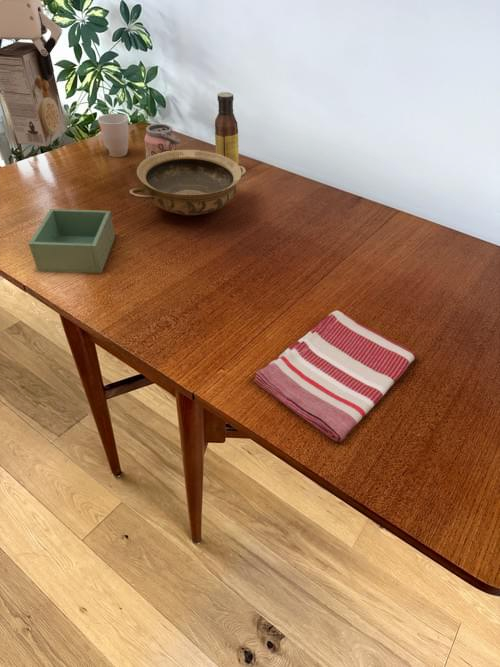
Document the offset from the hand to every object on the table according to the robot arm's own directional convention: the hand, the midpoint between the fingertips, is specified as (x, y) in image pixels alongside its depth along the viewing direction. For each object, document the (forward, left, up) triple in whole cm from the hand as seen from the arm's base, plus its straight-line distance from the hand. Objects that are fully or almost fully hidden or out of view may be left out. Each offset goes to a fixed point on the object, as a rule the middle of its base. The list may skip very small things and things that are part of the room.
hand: (27, 77), depth 87 cm
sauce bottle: (+37, +30, -30) cm, 56 cm away
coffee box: (0, 0, -11) cm, 11 cm away
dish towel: (+57, -46, -30) cm, 79 cm away
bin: (+7, -14, -30) cm, 34 cm away
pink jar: (+20, +27, -30) cm, 45 cm away
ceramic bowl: (+29, +7, -30) cm, 42 cm away
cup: (+5, +38, -30) cm, 49 cm away
